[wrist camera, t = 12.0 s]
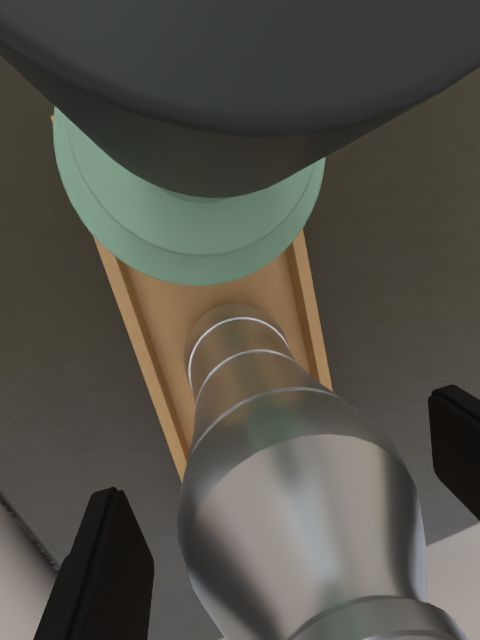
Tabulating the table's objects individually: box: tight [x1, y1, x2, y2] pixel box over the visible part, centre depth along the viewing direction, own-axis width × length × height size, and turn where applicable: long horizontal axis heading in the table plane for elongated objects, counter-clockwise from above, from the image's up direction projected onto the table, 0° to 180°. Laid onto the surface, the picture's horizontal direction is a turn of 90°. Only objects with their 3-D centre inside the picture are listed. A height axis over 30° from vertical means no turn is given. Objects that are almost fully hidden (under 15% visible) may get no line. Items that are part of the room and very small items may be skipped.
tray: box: [51, 115, 333, 482], centre depth 22 cm, size 30×12×3 cm, turn 14°
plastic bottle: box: [177, 303, 468, 640], centre depth 13 cm, size 6×7×20 cm
